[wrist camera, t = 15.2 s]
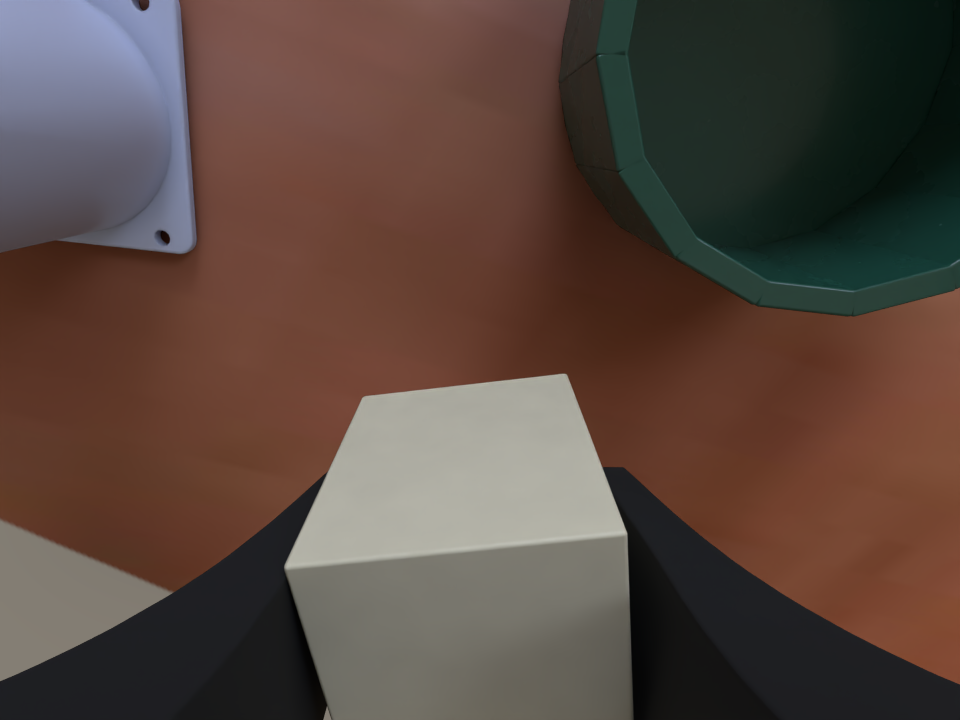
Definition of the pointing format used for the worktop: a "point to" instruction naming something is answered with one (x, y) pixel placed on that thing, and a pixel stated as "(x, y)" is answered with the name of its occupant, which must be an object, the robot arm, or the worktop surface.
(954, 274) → the tea tin
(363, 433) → the block
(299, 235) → the worktop surface
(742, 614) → the robot arm
